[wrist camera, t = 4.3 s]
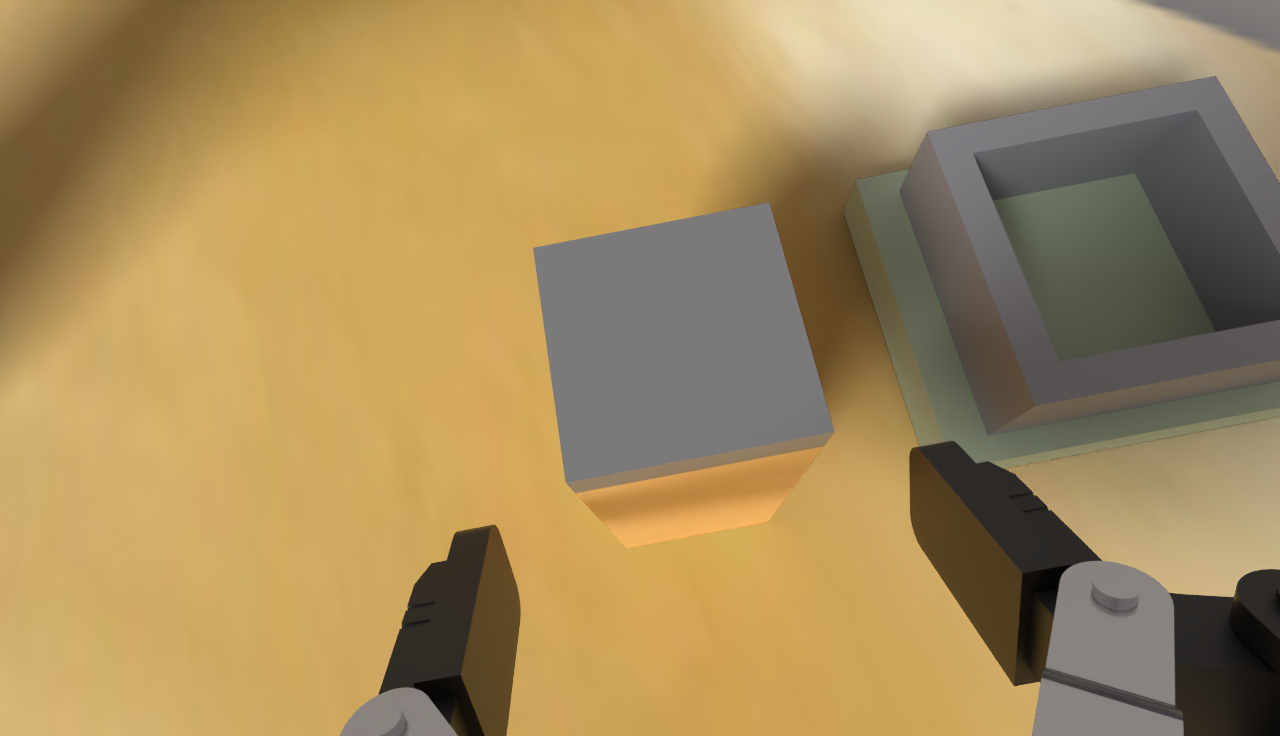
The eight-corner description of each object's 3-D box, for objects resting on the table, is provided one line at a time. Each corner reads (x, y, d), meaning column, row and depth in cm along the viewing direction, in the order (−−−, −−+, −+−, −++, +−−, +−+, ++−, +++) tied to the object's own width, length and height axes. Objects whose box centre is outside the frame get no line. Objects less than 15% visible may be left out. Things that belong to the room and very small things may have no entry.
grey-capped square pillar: (626, 548, 22) (566, 482, 12) (604, 412, 23) (533, 247, 13) (767, 521, 22) (834, 431, 11) (736, 387, 23) (769, 202, 13)
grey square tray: (931, 482, 22) (996, 444, 17) (843, 212, 25) (877, 119, 21) (1279, 416, 22) (1440, 360, 17) (1143, 154, 25) (1246, 48, 20)
